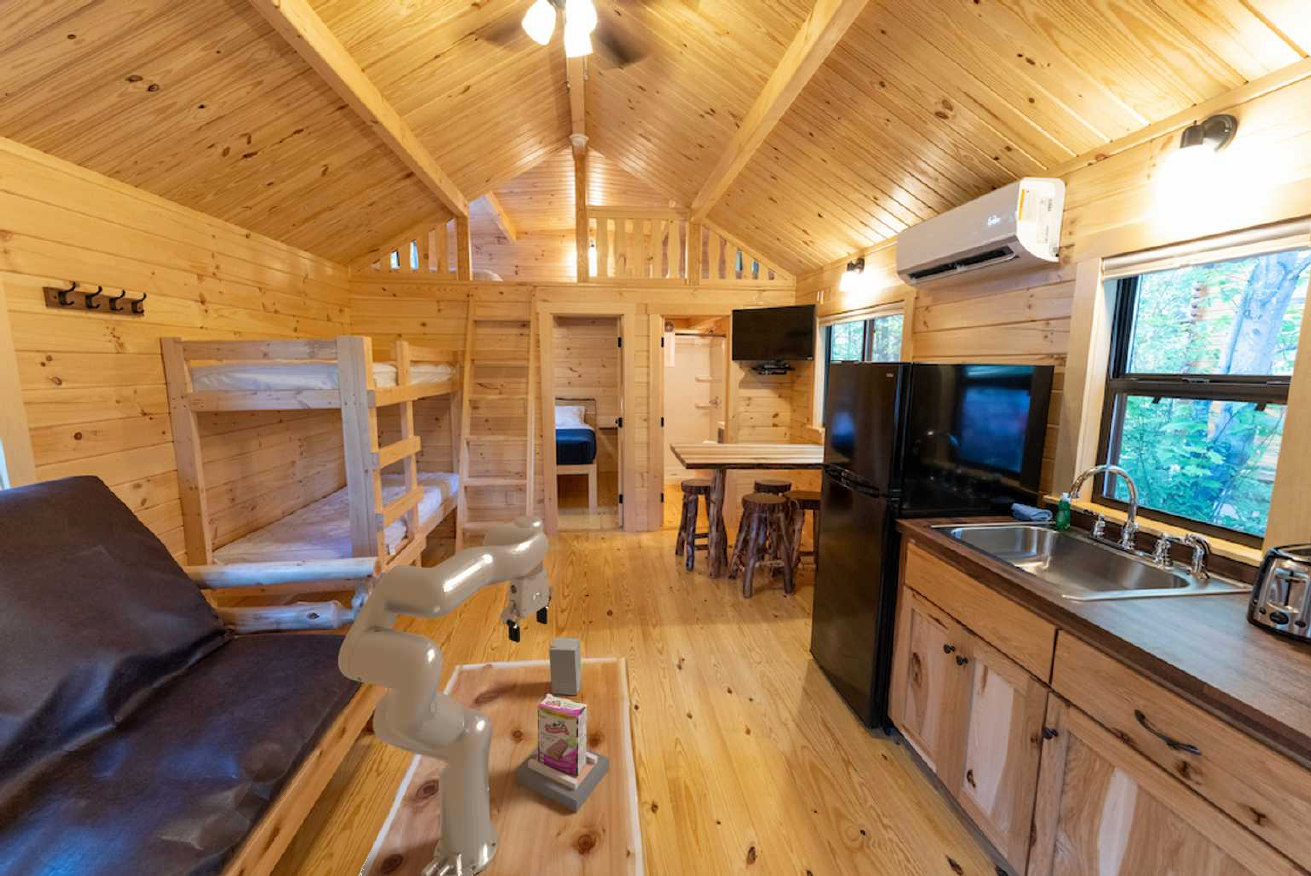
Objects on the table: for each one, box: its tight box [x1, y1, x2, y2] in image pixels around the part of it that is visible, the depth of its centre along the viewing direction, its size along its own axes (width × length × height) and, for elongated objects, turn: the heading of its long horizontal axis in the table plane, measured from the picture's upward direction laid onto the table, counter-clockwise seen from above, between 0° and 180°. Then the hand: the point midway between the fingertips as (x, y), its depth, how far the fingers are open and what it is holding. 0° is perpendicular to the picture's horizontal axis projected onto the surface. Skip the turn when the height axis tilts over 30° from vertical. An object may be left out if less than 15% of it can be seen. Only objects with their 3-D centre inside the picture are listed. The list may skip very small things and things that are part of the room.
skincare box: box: [548, 636, 583, 696], centre depth 156 cm, size 8×7×16 cm
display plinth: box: [514, 747, 610, 813], centre depth 124 cm, size 14×18×4 cm
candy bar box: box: [537, 693, 588, 777], centre depth 123 cm, size 11×5×16 cm, turn 71°
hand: (528, 631), depth 126 cm, fingers open, 9 cm apart
